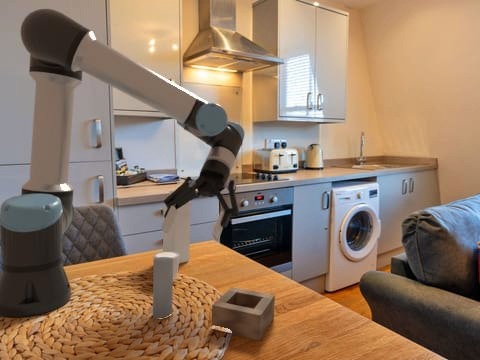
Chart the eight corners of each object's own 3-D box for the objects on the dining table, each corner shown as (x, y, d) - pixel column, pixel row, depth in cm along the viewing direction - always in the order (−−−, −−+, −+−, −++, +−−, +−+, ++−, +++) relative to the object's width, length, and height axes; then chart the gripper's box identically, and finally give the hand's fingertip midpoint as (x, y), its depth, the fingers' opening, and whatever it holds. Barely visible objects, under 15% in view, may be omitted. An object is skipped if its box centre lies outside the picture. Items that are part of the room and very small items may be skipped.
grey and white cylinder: (173, 286, 91) (173, 259, 91) (148, 283, 93) (148, 257, 92) (182, 277, 98) (183, 252, 97) (159, 274, 99) (159, 249, 99)
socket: (211, 329, 71) (212, 305, 70) (230, 308, 80) (231, 287, 80) (259, 340, 67) (260, 315, 67) (273, 317, 77) (274, 295, 76)
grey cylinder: (148, 317, 75) (149, 261, 74) (159, 309, 79) (160, 256, 78) (165, 321, 74) (166, 264, 72) (175, 312, 77) (176, 258, 76)
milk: (162, 260, 111) (163, 190, 109) (178, 256, 116) (179, 188, 114) (174, 265, 107) (175, 192, 105) (190, 261, 112) (191, 191, 110)
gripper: (263, 179, 95) (241, 249, 83) (181, 173, 104) (150, 235, 92) (258, 160, 90) (234, 231, 77) (172, 155, 99) (138, 219, 86)
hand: (188, 234), depth 85 cm, fingers open, 13 cm apart
